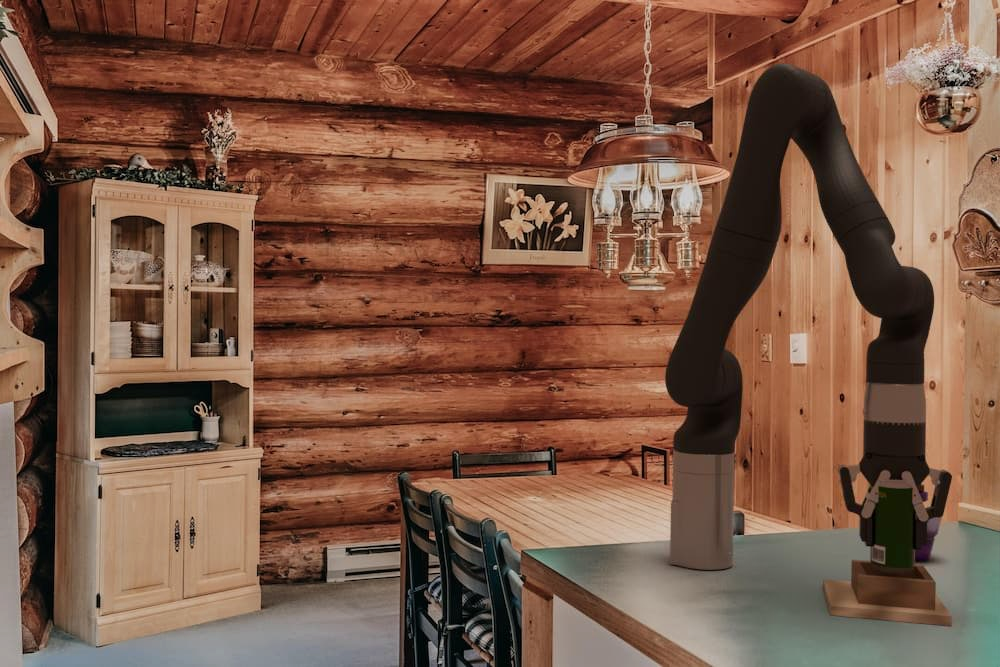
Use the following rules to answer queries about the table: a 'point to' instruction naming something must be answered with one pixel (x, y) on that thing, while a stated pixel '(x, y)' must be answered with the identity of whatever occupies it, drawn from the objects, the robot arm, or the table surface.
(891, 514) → the beer can
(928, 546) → the potion bottle
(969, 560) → the table surface
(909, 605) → the can caddy
